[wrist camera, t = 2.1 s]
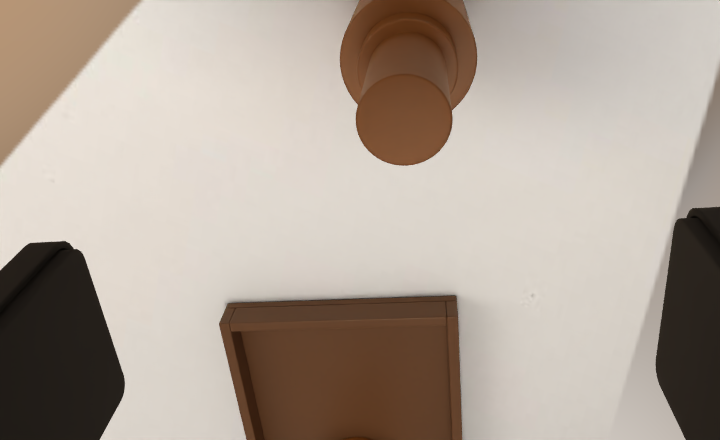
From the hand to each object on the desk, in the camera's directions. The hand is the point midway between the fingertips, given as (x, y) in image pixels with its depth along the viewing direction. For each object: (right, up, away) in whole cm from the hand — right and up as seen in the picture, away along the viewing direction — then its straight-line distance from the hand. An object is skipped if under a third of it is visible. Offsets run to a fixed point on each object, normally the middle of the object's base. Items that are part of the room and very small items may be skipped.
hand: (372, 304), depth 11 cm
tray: (0, -14, +33) cm, 36 cm away
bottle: (+2, +11, +20) cm, 23 cm away
